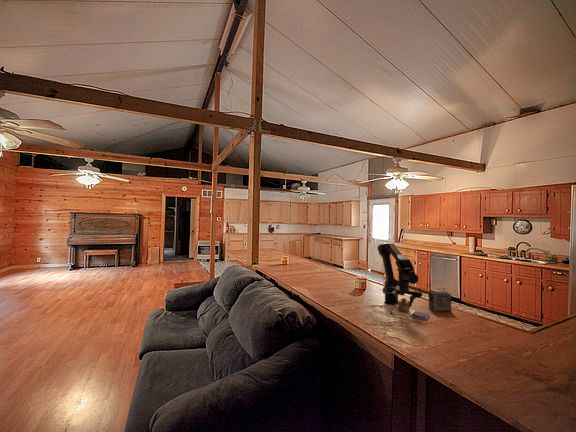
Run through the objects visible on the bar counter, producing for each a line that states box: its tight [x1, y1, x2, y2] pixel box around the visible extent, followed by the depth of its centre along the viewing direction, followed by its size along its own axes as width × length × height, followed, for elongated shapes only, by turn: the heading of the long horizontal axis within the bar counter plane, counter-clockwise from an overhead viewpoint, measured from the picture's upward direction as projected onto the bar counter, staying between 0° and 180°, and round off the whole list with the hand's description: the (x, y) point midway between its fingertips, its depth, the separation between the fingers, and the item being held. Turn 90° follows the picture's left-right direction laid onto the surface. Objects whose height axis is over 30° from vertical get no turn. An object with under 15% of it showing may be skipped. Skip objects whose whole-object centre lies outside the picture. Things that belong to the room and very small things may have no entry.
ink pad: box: [410, 310, 431, 321], centre depth 145 cm, size 8×8×1 cm
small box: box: [428, 291, 452, 313], centre depth 156 cm, size 11×6×10 cm, turn 84°
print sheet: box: [391, 306, 417, 317], centre depth 153 cm, size 10×12×1 cm
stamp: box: [397, 297, 410, 313], centre depth 153 cm, size 5×5×8 cm
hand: (403, 306), depth 153 cm, fingers open, 7 cm apart
